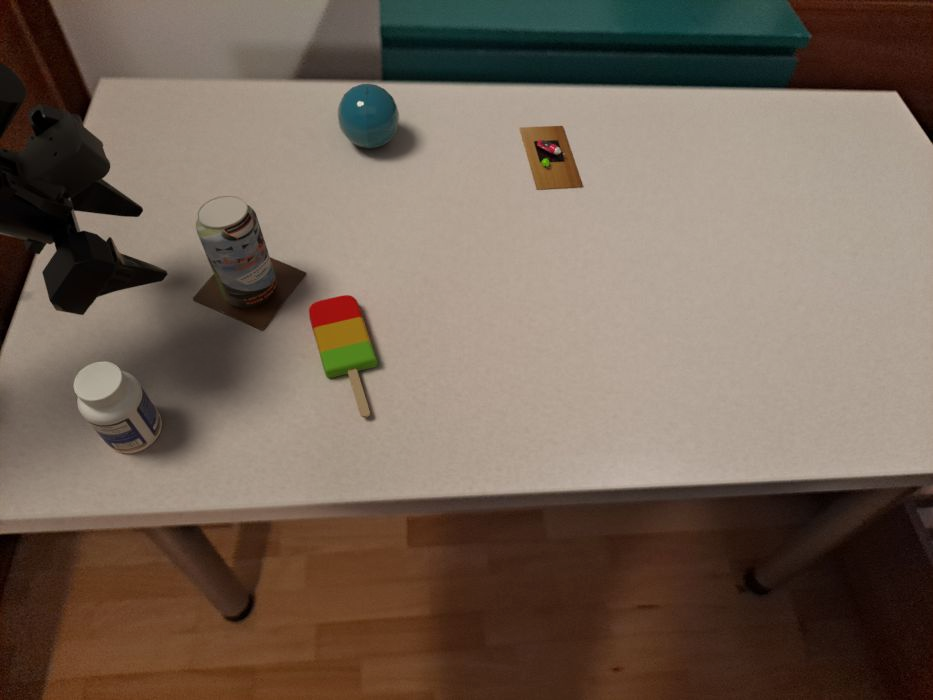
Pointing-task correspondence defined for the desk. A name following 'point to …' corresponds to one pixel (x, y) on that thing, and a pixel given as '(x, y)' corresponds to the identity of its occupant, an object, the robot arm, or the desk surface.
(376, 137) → the ball
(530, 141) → the board
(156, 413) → the pill bottle
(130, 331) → the desk surface
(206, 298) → the coaster
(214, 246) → the beverage can
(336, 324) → the popsicle
